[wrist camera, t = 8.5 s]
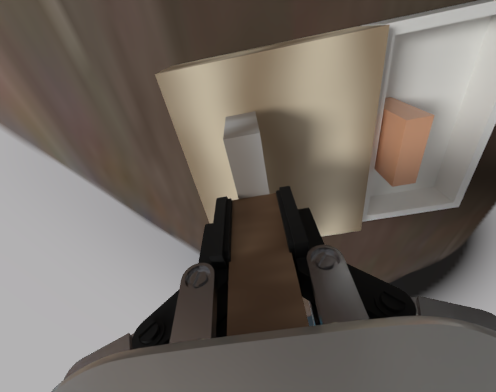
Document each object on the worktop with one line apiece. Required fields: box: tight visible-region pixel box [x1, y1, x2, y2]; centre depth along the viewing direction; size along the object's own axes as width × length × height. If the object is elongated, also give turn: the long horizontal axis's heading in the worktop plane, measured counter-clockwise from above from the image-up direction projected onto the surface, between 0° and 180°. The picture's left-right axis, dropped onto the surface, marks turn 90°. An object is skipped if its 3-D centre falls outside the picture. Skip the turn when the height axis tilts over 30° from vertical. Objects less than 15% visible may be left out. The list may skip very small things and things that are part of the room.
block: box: [374, 97, 434, 187], centre depth 16 cm, size 4×4×2 cm
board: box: [155, 25, 390, 236], centre depth 17 cm, size 12×14×4 cm
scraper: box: [223, 111, 309, 336], centre depth 11 cm, size 2×9×10 cm, turn 11°
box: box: [361, 0, 496, 222], centre depth 17 cm, size 8×14×3 cm, turn 10°
